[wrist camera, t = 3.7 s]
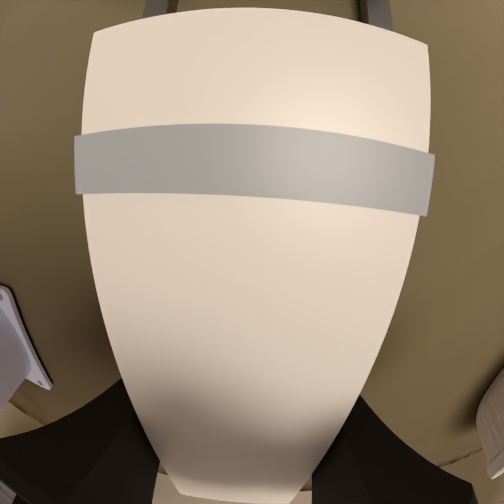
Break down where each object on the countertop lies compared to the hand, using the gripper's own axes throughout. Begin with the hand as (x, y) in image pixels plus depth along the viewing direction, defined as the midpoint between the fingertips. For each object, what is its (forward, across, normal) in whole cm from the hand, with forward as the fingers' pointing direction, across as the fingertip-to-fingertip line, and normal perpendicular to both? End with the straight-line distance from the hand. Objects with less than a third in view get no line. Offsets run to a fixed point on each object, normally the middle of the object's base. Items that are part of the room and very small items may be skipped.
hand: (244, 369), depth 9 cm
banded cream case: (+1, 0, -2) cm, 2 cm away
